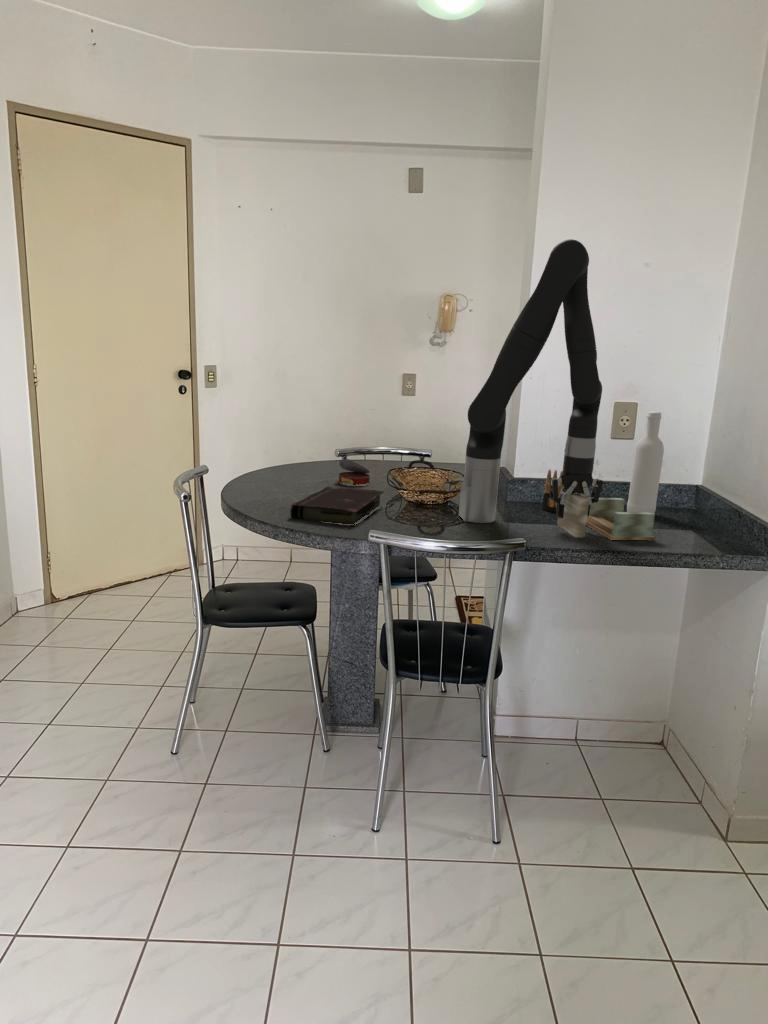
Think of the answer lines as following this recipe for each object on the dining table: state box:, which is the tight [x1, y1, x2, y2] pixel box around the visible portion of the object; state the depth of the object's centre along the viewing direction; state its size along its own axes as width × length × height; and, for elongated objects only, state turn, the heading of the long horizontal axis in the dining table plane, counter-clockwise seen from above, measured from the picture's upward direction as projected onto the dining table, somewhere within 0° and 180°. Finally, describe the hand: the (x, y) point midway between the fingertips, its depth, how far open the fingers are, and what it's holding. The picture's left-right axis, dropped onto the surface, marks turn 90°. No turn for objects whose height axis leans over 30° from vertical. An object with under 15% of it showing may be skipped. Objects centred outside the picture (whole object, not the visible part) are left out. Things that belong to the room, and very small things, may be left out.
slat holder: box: [586, 497, 656, 541], centre depth 200 cm, size 12×18×7 cm, turn 10°
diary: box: [289, 486, 385, 527], centre depth 203 cm, size 19×25×5 cm
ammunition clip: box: [541, 468, 581, 513], centre depth 218 cm, size 11×2×12 cm, turn 67°
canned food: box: [338, 458, 371, 485], centre depth 241 cm, size 11×10×10 cm
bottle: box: [626, 410, 665, 515], centre depth 218 cm, size 8×8×30 cm
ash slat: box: [556, 493, 589, 538], centre depth 197 cm, size 2×12×10 cm, turn 10°
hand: (572, 517), depth 197 cm, fingers open, 6 cm apart
